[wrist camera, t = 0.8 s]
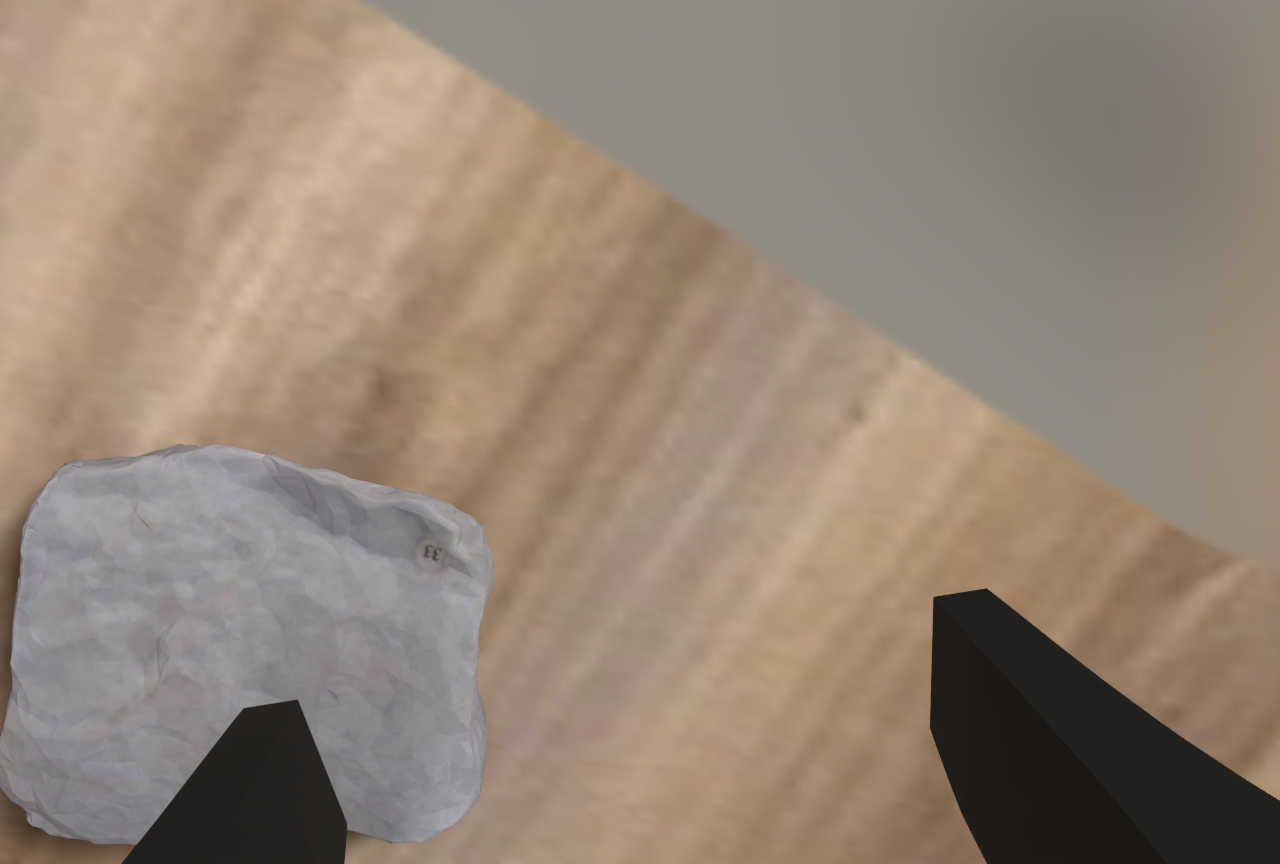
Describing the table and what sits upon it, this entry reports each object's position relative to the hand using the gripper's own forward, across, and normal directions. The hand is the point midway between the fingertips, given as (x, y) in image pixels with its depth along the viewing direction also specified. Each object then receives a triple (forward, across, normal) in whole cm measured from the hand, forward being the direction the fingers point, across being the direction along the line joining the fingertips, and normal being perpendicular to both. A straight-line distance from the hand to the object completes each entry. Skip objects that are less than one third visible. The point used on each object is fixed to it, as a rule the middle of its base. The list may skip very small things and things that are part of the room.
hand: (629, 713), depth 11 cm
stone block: (+14, +10, +8) cm, 19 cm away
